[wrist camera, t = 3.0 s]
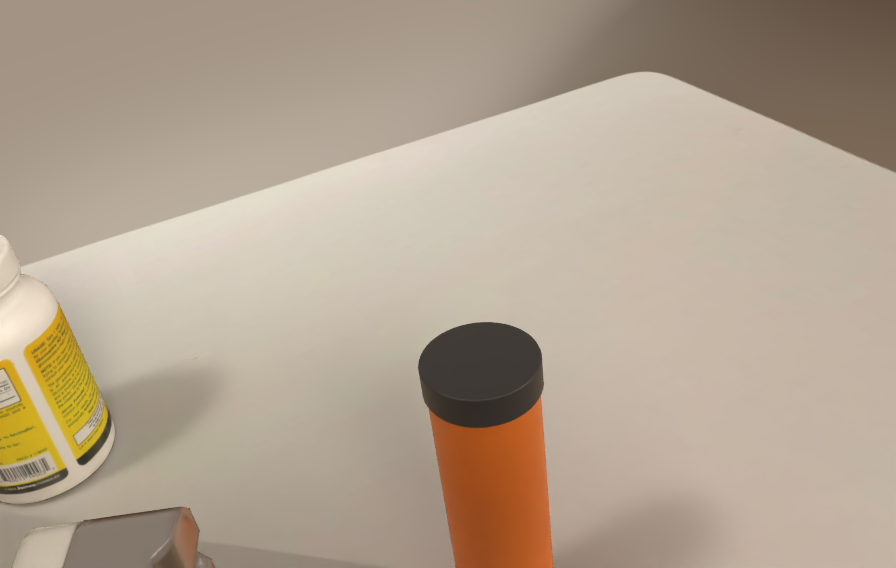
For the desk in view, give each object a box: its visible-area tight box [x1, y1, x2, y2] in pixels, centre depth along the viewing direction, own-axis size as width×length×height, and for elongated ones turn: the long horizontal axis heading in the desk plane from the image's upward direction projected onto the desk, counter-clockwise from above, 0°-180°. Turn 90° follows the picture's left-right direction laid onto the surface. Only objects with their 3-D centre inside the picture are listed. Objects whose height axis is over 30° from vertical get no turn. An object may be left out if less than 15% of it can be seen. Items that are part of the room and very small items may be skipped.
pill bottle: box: [0, 235, 115, 504], centre depth 37 cm, size 6×6×11 cm
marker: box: [418, 322, 553, 568], centre depth 27 cm, size 3×3×12 cm
